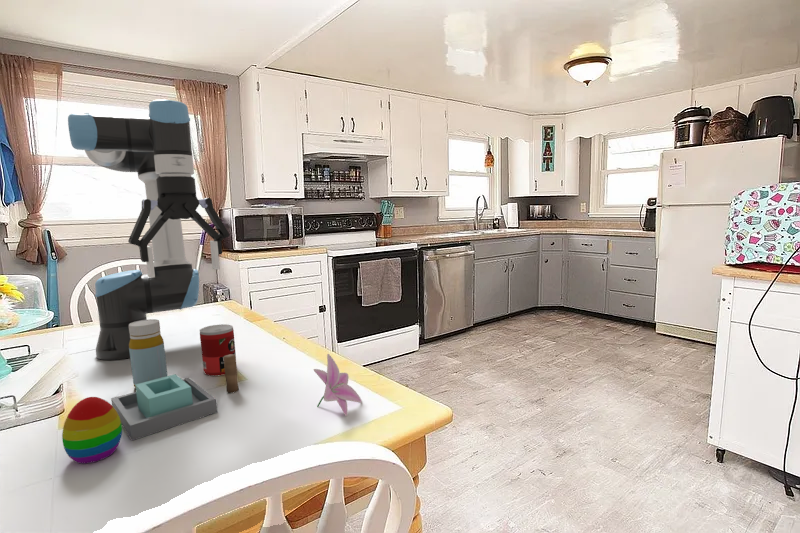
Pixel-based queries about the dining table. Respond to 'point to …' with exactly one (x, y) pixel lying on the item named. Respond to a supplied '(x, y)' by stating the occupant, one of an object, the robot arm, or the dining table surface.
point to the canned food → (216, 347)
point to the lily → (337, 386)
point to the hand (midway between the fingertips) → (185, 272)
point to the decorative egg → (91, 430)
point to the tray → (144, 426)
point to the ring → (163, 395)
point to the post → (231, 373)
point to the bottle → (146, 351)
